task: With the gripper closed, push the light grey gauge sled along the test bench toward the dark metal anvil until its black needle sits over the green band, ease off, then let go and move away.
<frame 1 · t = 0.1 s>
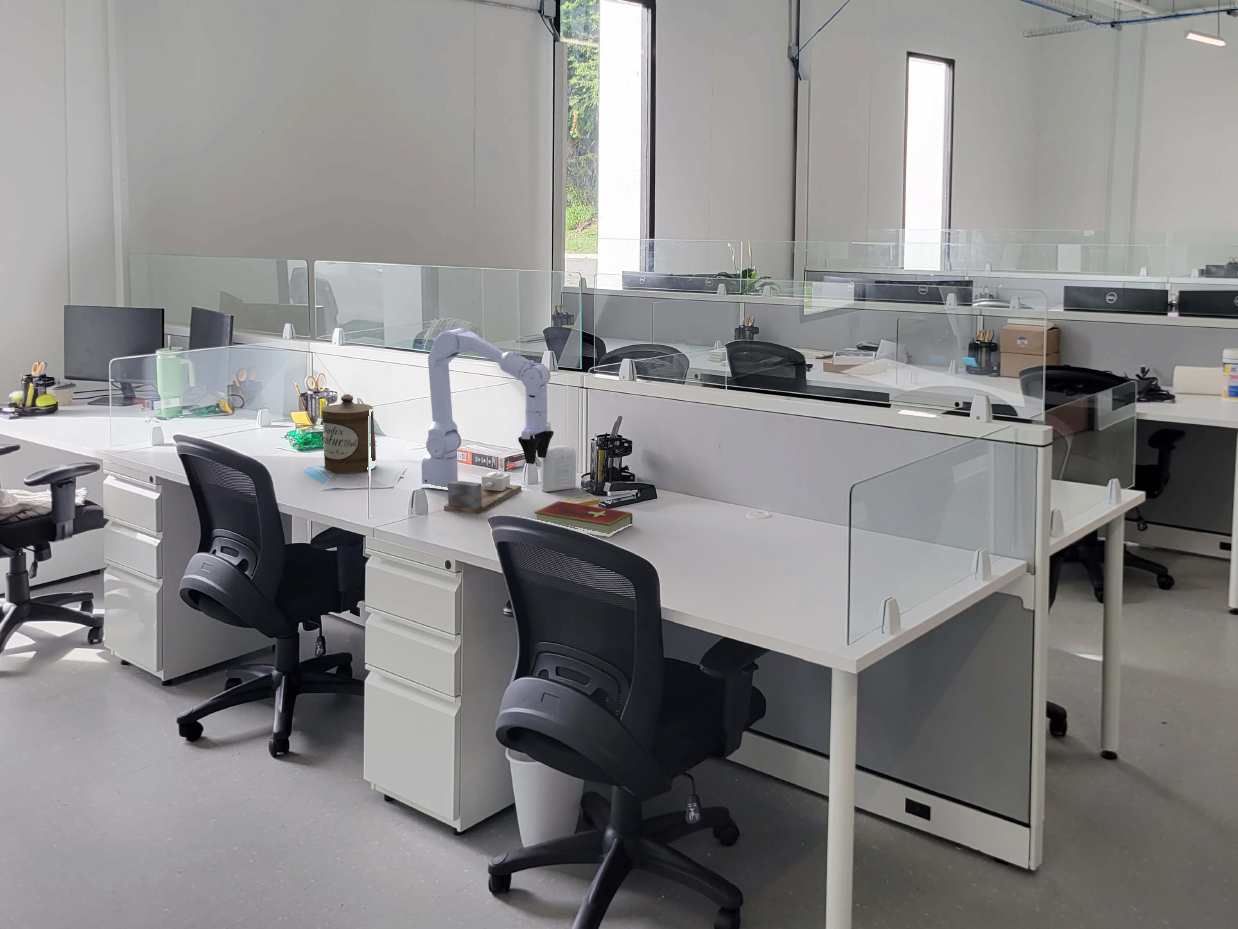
hand: (536, 460, 289), 10 cm above the table, tool pointing down, fingers open, 7 cm apart
gauge: (496, 482, 292), point 4 cm above the table, slide at 0.0 cm
wooden container: (350, 468, 320), on the table
hardcover book: (583, 528, 266), on the table
test bench: (484, 499, 287), on the table
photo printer: (558, 489, 300), on the table
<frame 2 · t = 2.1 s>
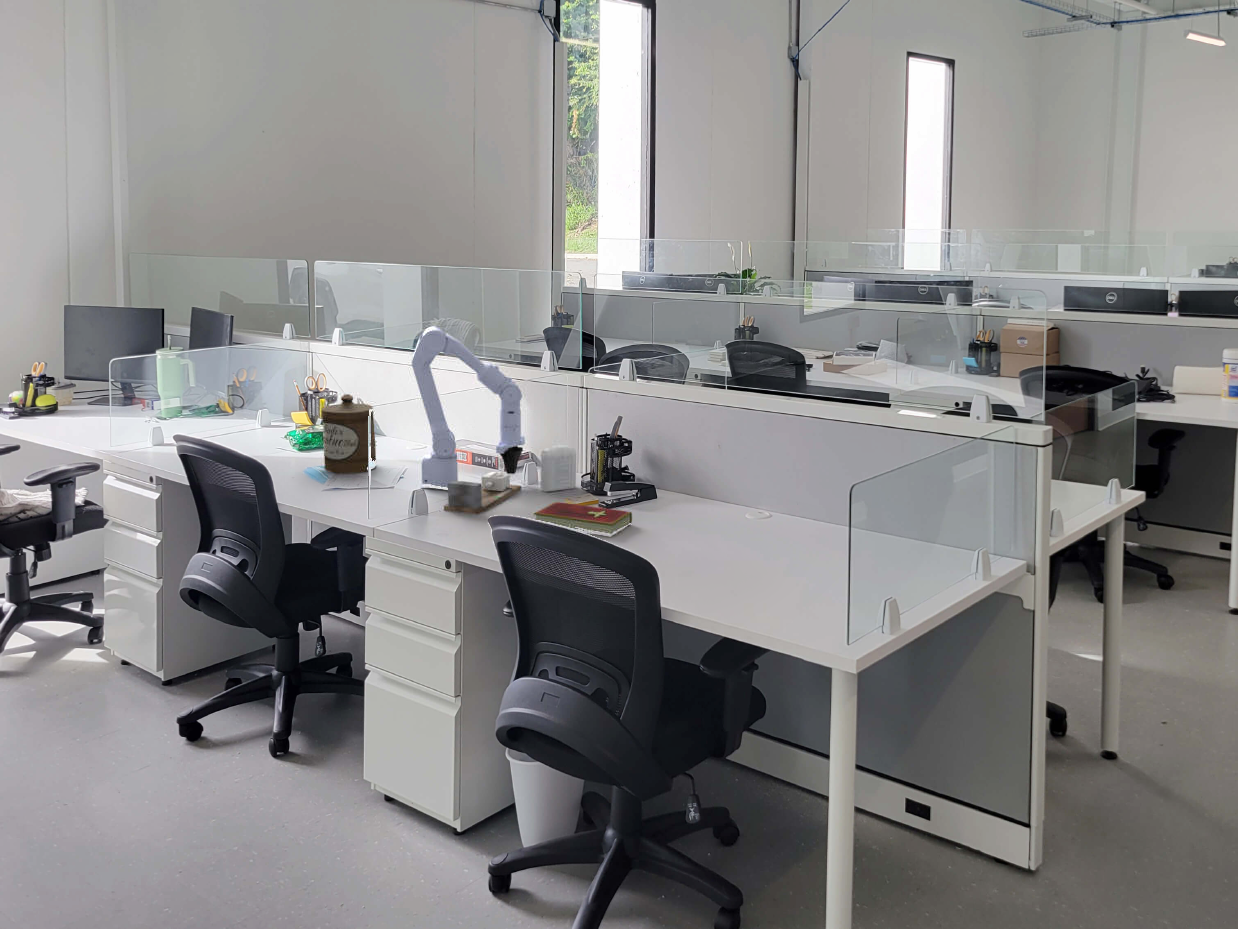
hand: (511, 473, 302), 3 cm above the table, tool pointing down, fingers closed
nothing on the table moved.
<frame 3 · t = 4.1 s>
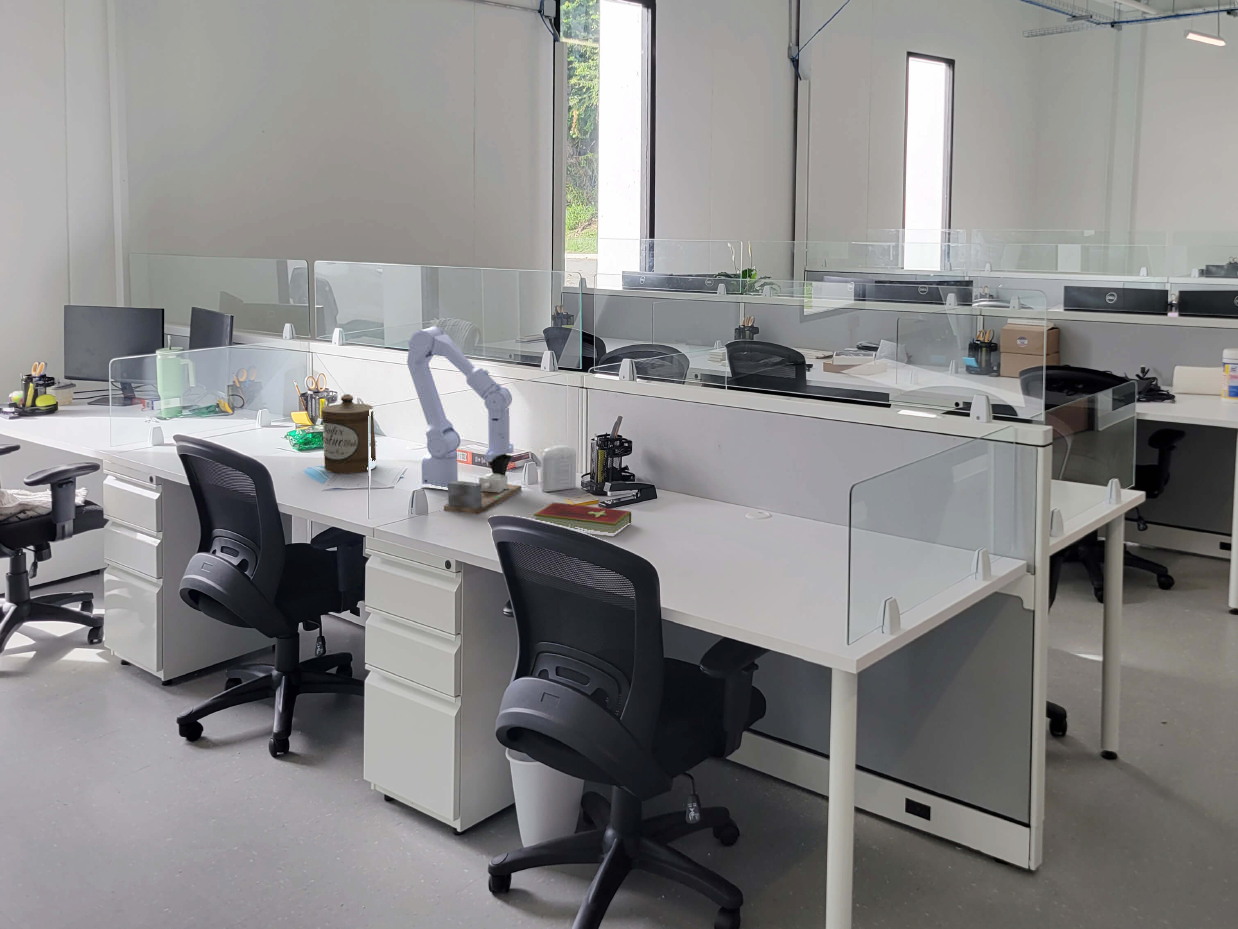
hand: (499, 481, 295), 3 cm above the table, tool pointing down, fingers closed
gauge: (493, 483, 290), point 4 cm above the table, slide at 1.6 cm, touching gripper
everything else where it was.
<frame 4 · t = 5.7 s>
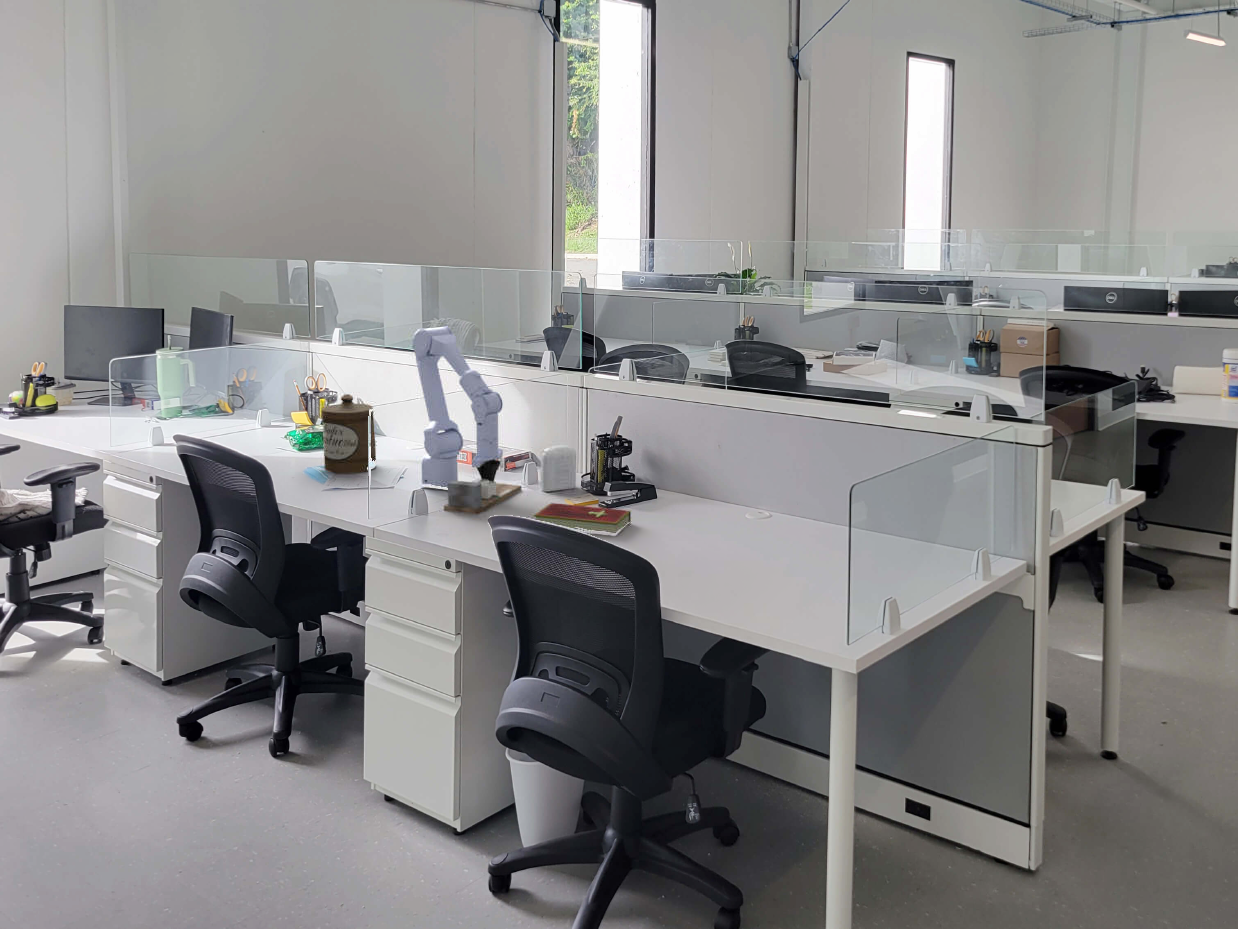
hand: (488, 487, 289), 3 cm above the table, tool pointing down, fingers closed
gauge: (482, 489, 284), point 4 cm above the table, slide at 8.6 cm, touching gripper
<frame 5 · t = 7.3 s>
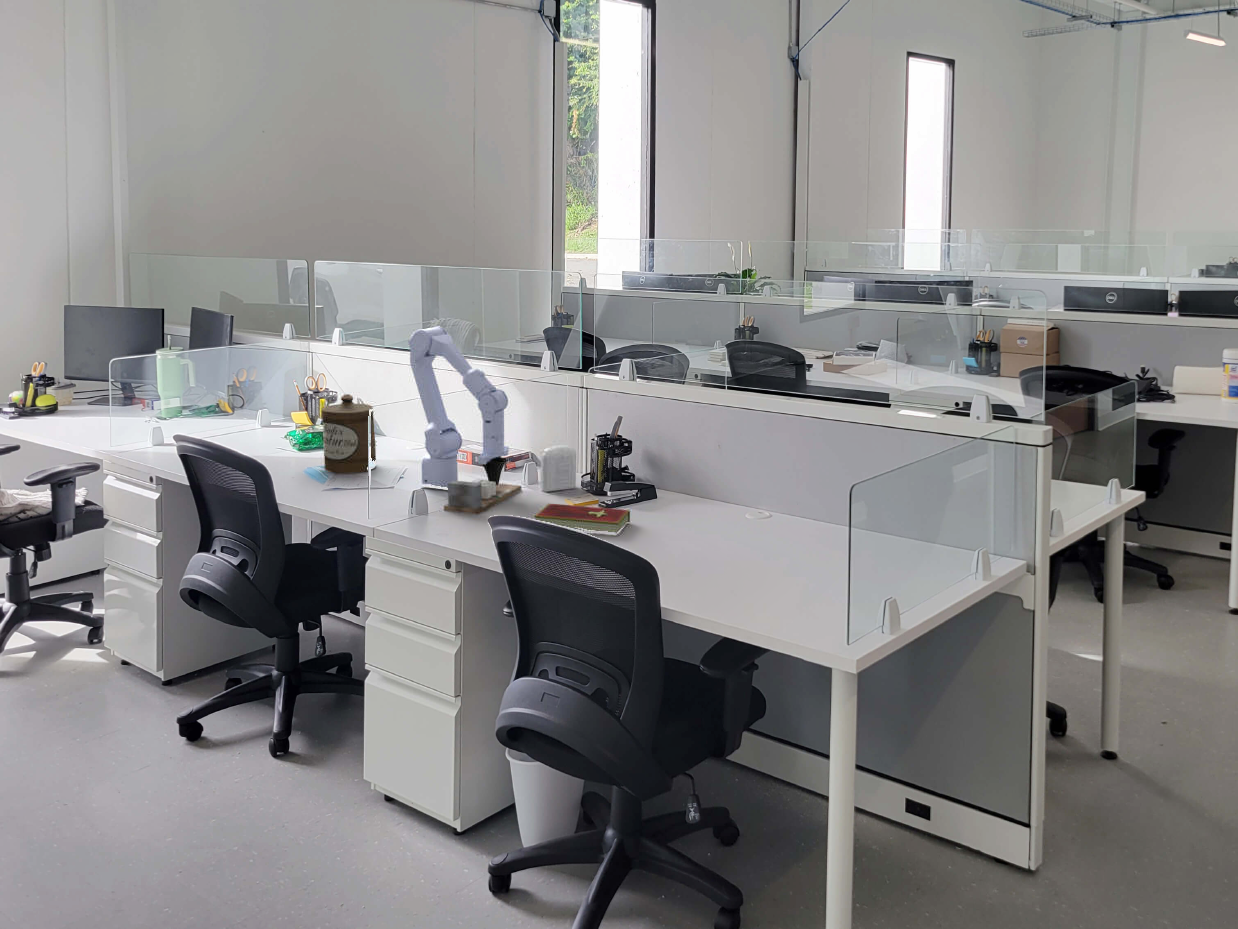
hand: (493, 484, 292), 3 cm above the table, tool pointing down, fingers closed
gauge: (481, 489, 283), point 4 cm above the table, slide at 8.8 cm
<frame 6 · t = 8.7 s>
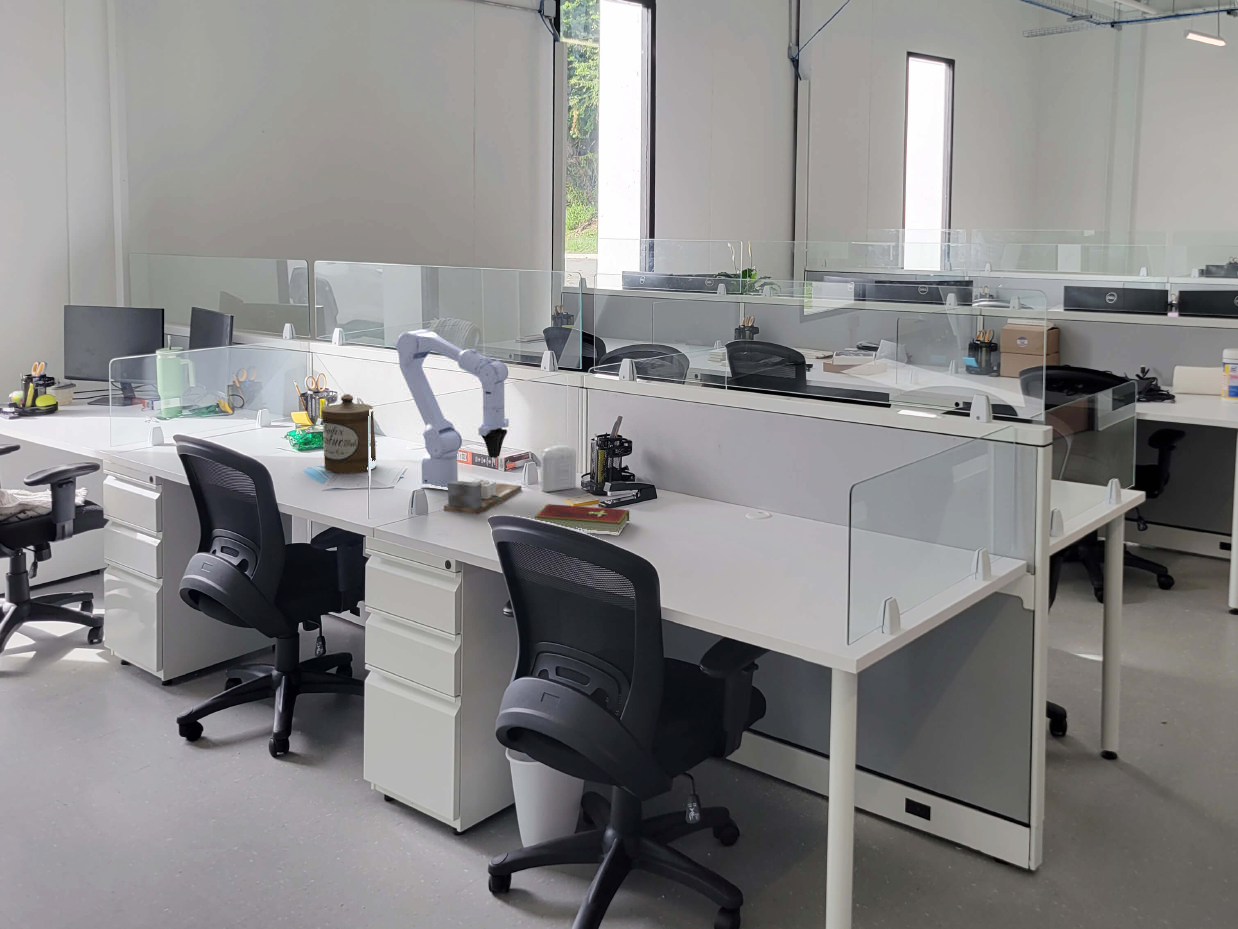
hand: (494, 456, 291), 10 cm above the table, tool pointing down, fingers closed
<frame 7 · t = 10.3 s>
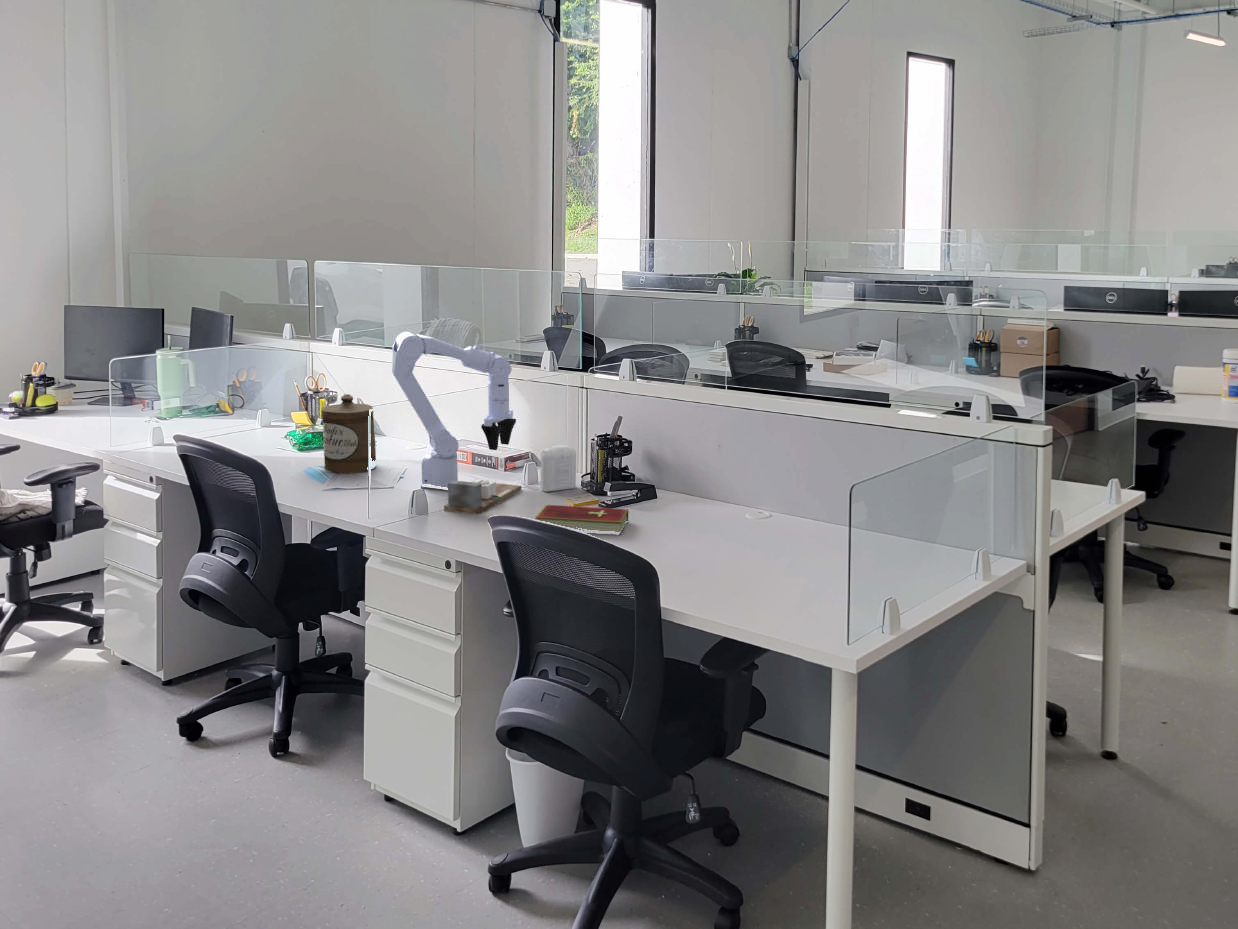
hand: (499, 446, 303), 10 cm above the table, tool pointing down, fingers open, 7 cm apart
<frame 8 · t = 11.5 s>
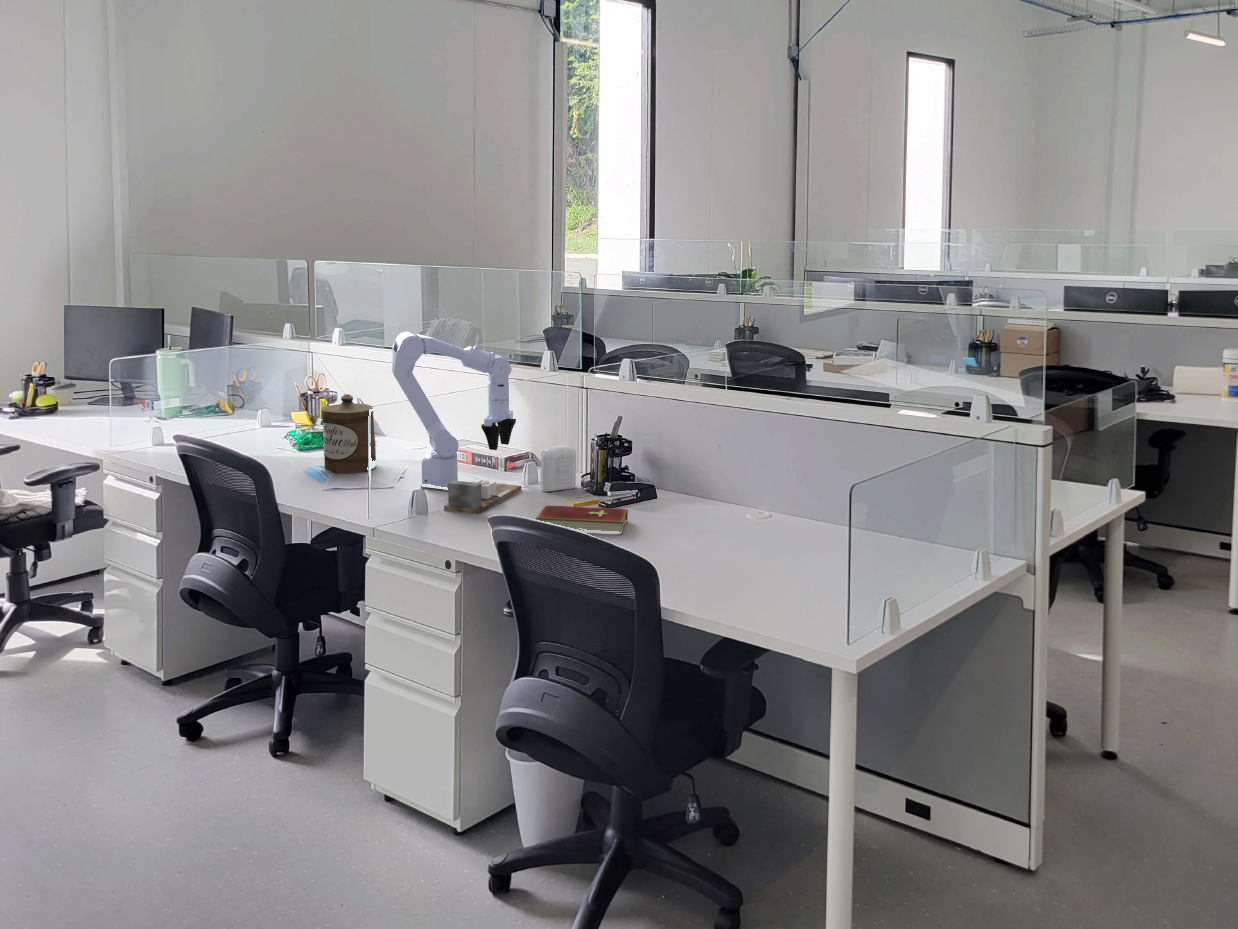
hand: (499, 446, 303), 10 cm above the table, tool pointing down, fingers open, 7 cm apart
at the end: gauge slide at 8.8 cm; the gripper is holding nothing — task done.
